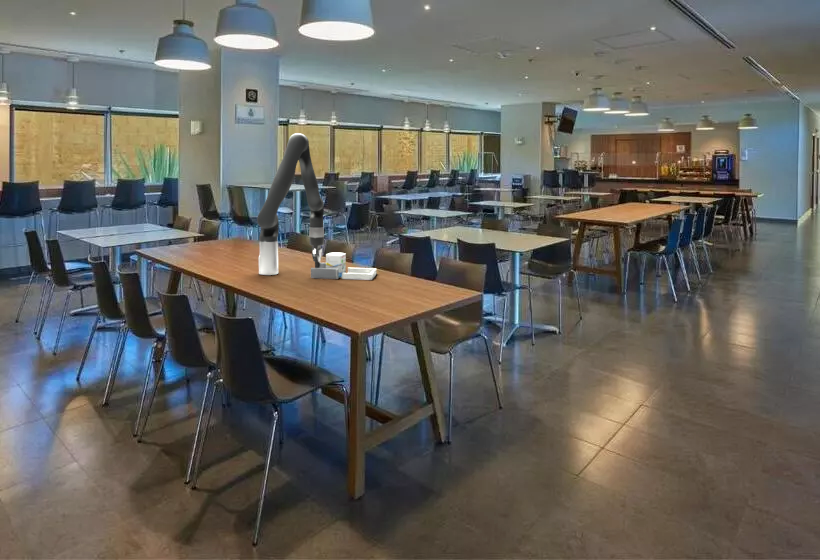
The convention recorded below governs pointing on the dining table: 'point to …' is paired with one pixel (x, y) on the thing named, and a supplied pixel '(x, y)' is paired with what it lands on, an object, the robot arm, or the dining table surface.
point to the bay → (324, 272)
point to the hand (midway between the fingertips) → (317, 268)
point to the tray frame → (359, 273)
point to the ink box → (336, 262)
